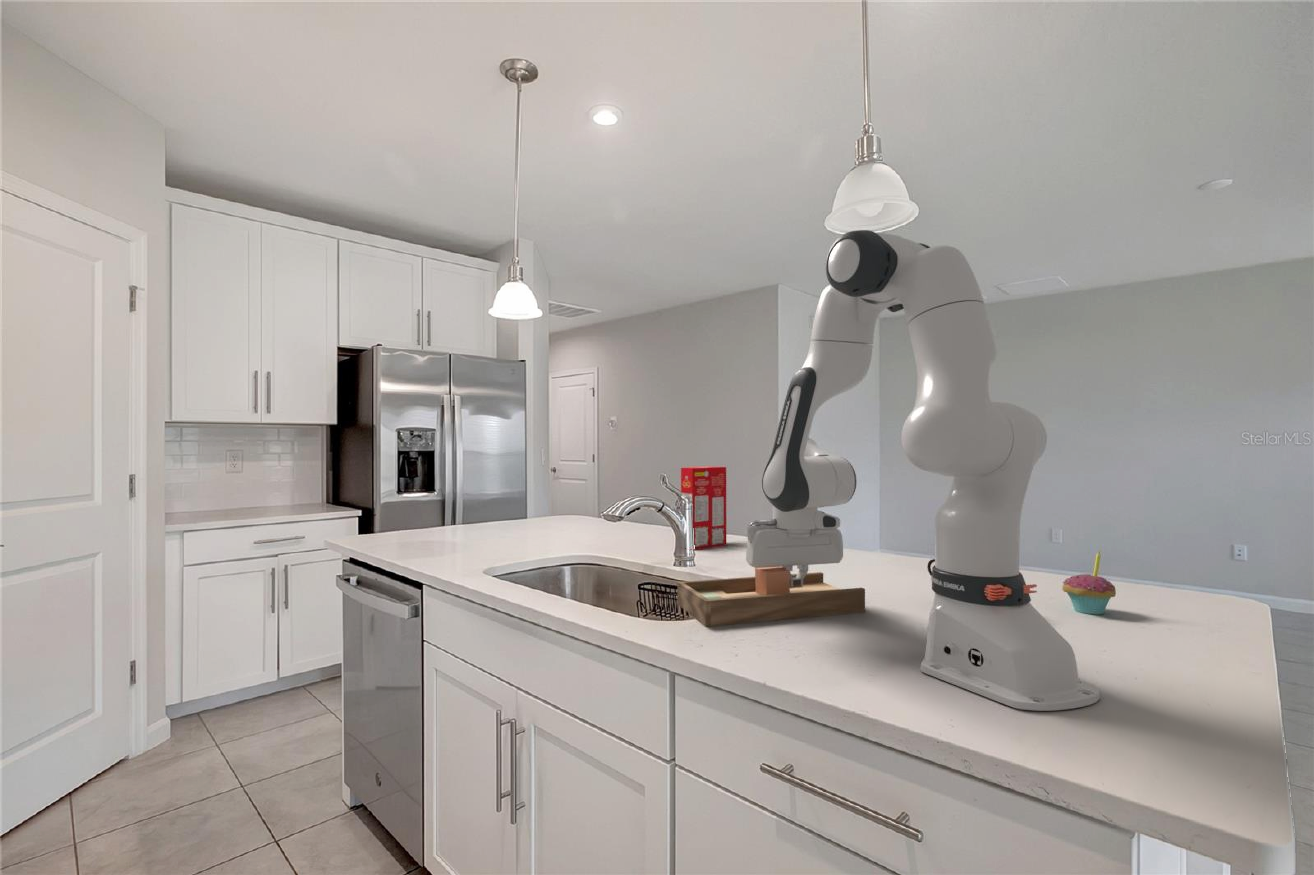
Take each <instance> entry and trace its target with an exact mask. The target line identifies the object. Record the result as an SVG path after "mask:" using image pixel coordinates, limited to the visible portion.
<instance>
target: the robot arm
mask: <svg viewBox="0 0 1314 875" xmlns="http://www.w3.org/2000/svg"><path fill="white" fill-rule="evenodd" d="M825 261H826V262H825V274H826V278H827V281H828V283H829V284H828V285H827V286H825V287H824V288H823V290H822V292H821V294H820V296H819V299H818V303H817V306H816V310H815V314H814V318H813V323H812V330H811V334H810V336H811V337H810V340H811V341H809V342H810V344H809V349H808V351H807V352H808V353H807V356H806V358H805V360H804V363H803V365H802V366H801V368H800V369H799V370H798V371H796V372H795V373H794V375H793V376H792V378H791V380H790V383H789V385H788V389H787V392H786V395H785V399H784V403H783V406H782V410H781V414H780V419H779V423H778V428H777V431H776V436H775V439H774V443H773V447H772V451H771V454H770V456H769V458H768V462H767V463H766V466H765V468H764V471H763V474H762V479H761V486H762V487H761V488H762V492H763V494H764V496H765V498H766V499H767V500H768V502H769V503H770V504H771V505H772V518H771V519H763V520H762V519H756V520H753V522H751V523H750V524H748V526H747V528H746V530H747V531H746V539H747V545H746V550H745V551H746V554H745V560H746V563H748V566H750V567H753V568H754V569H755V568H764V567H782V568H784V569H786V570H789V585H790V588H800V587H803V579H804V577H805V576H806V574H807V573H808V571H809V566H811V565H812V566H813V565H828V564H839V563H841V561H842V560H843V558H844V541H843V534H842V532H841V530H840V529H839V527H840V526H841V518H840V517H838V516H836V515H832V514H828V513H825V512H824V511H822V510H818V508H826V507H835V506H836V507H837V506H840V505H844V504H847V503H849V502H850V500H852V498H853V496H854V494H855V492H856V489H857V483H858V482H857V474H856V471H855V468H854V467H853V464H852V463H851V462H850V461H848V459H846V458H844V457H841V456H840V457H839V456H837V455H835V454H832V453H829V452H828V451H826V450H824V449H823V448H821V447H820V446H818V444H817V443H816V441H815V440H814V439H813V438H809V437H810V432H811V429H812V425H813V421H814V418H815V415H816V413H817V412H818V410H819V409H820V407H821V406H822V405H824V403H826V402H827V401H828V400H830V399H832V398H834V397H836V396H839V395H841V394H843V393H845V392H848V391H850V390H852V389H853V388H855V387H856V386H857V385H859V384H860V383H861V382H862V381H863V380H864V379H865V377H867V375H868V372H869V369H870V365H871V362H872V356H873V346H874V345H873V344H874V339H875V338H874V337H875V336H874V335H875V328H876V323H877V319H878V317H879V316H880V314H882V312H883V311H885V310H886V309H887V310H888V311H889V312H891V313H897V312H899V311H901V310H902V311H904V315H905V320H906V324H907V329H908V330H907V331H908V334H909V339H910V342H911V343H910V344H911V347H912V352H913V357H914V362H915V366H916V367H915V368H916V374H917V375H916V377H917V380H916V381H917V385H916V394H915V395H916V396H915V402H914V403H915V404H914V406H913V408H912V411H911V412H910V413H909V415H907V418H906V419H905V421H904V423H903V426H902V430H901V445H902V449H903V453H904V455H905V456H906V459H908V461H909V462H910V463H911V464H913V465H914V466H915V467H917V469H921V470H922V471H925V472H929V473H932V474H935V475H939V476H944V477H953V480H952V483H951V484H952V485H951V487H950V490H949V493H948V495H947V497H946V499H945V501H944V503H942V505H941V506H940V507H939V509H938V510H937V512H936V514H935V518H934V528H935V529H934V555H935V556H934V559H935V562H934V565H933V566H932V568H931V571H932V575H930V579H931V580H930V581H931V590H932V591H933V592H934V597H933V598H934V599H933V603H932V606H931V610H930V612H929V618H928V627H927V634H926V635H927V636H926V645H925V646H926V647H925V651H924V655H923V660H922V661H921V662H920V667H919V668H920V669H919V670H920V671H921V673H923V674H926V675H929V676H932V677H934V678H936V679H939V680H942V681H944V682H947V683H949V684H952V685H955V686H957V687H960V688H962V689H965V690H967V691H970V692H972V693H974V694H978V695H980V696H983V697H985V698H988V699H991V700H993V701H996V702H998V703H1001V704H1003V705H1006V706H1009V707H1011V708H1014V709H1017V710H1025V711H1044V712H1045V711H1047V712H1050V711H1063V710H1071V709H1077V708H1082V707H1086V706H1091V705H1092V704H1095V703H1097V702H1098V701H1099V700H1100V699H1101V694H1100V693H1101V692H1100V689H1099V688H1098V687H1096V686H1094V685H1092V684H1090V683H1088V682H1086V681H1083V680H1082V679H1080V678H1079V673H1078V672H1079V671H1078V665H1077V659H1076V655H1075V651H1074V649H1073V647H1072V645H1071V644H1070V642H1068V640H1066V639H1065V638H1064V637H1063V636H1062V635H1061V634H1060V633H1059V632H1058V631H1057V630H1056V629H1055V628H1054V627H1053V625H1052V624H1050V623H1049V622H1048V620H1046V618H1045V617H1044V616H1043V615H1042V614H1041V613H1040V612H1039V611H1038V610H1037V609H1036V608H1035V607H1034V606H1033V604H1031V601H1032V598H1031V595H1030V594H1036V593H1037V592H1038V591H1037V590H1031V589H1033V588H1036V587H1037V586H1038V585H1037V584H1035V583H1034V584H1026V581H1025V578H1024V576H1023V574H1022V573H1021V572H1020V541H1021V540H1020V537H1021V536H1020V535H1021V534H1020V532H1021V531H1020V530H1021V529H1020V528H1021V517H1022V510H1023V505H1024V502H1025V498H1026V494H1027V490H1028V486H1029V483H1030V479H1031V475H1032V473H1033V470H1034V467H1035V465H1036V464H1037V463H1038V460H1040V458H1041V457H1042V456H1043V454H1044V452H1045V450H1046V446H1047V442H1048V436H1047V435H1048V434H1047V430H1046V427H1045V425H1044V424H1043V422H1042V420H1041V419H1040V418H1039V417H1038V416H1037V415H1036V414H1035V413H1033V412H1031V411H1029V410H1027V409H1025V408H1024V407H1021V406H1018V405H1016V404H1013V403H1009V402H1001V401H1000V402H998V401H992V400H991V398H990V393H989V373H990V369H991V366H992V365H993V363H994V362H995V360H996V359H997V346H996V343H995V339H994V335H993V332H992V327H991V325H990V321H989V316H988V312H987V309H986V305H985V302H984V298H983V295H982V291H981V290H980V286H979V283H978V281H977V278H976V276H975V274H974V271H973V269H972V267H971V266H970V263H969V261H968V259H967V258H966V256H965V254H963V252H962V251H961V250H960V249H957V248H956V247H953V246H949V245H935V246H929V245H928V244H925V243H921V242H919V243H918V242H915V241H913V240H910V239H907V238H905V237H902V236H900V235H897V234H891V233H885V232H884V233H883V232H875V231H872V230H866V229H865V230H864V229H862V230H861V229H859V230H852V231H848V232H845V233H844V234H841V235H840V236H839V237H838V238H836V240H835V241H834V242H833V244H832V245H831V247H830V248H829V250H828V254H827V256H826V260H825ZM794 566H796V569H798V571H797V573H796V574H797V576H796V577H792V575H791V574H792V573H791V572H793V570H794V569H793V567H794Z"/></svg>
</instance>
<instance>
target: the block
mask: <svg viewBox="0 0 1314 875" xmlns="http://www.w3.org/2000/svg"><path fill="white" fill-rule="evenodd" d="M754 577H755V584H756V593H758V594H759V595H773V594H786V593H790V585H789V570H786V569H784V568H782V566H781V567H764V568H755V567H754Z"/></svg>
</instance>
